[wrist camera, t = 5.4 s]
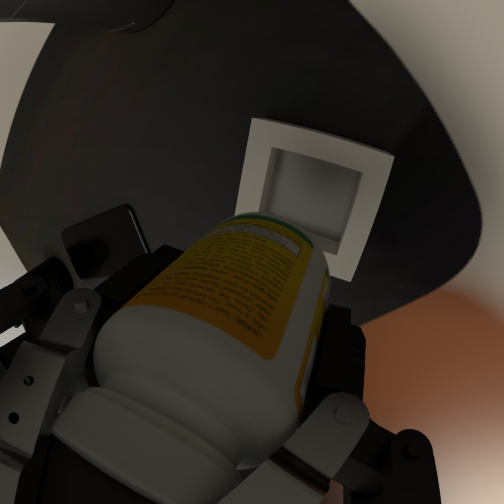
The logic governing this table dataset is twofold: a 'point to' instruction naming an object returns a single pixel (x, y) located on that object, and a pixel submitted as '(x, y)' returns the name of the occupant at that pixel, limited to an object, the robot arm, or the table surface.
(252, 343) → the supplement bottle
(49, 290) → the supplement bottle
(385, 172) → the socket plate
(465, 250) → the table surface
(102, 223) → the smartphone
